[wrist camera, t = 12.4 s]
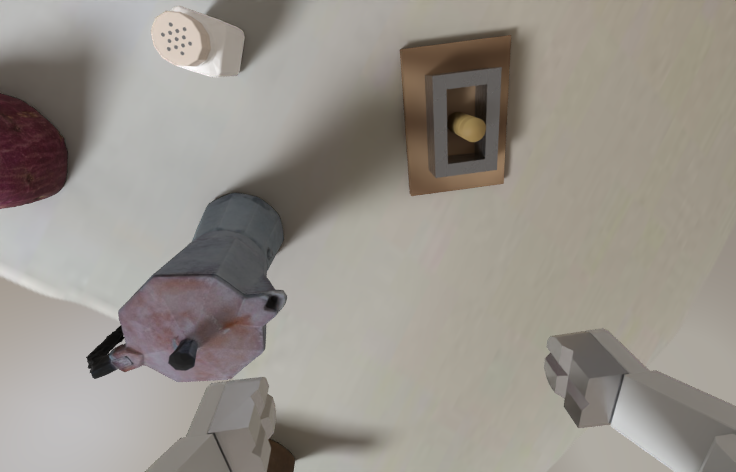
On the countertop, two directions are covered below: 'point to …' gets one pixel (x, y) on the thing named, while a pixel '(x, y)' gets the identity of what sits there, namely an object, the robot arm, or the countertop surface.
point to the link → (485, 109)
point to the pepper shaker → (198, 42)
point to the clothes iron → (280, 458)
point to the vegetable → (28, 155)
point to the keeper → (452, 109)
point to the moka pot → (203, 300)
